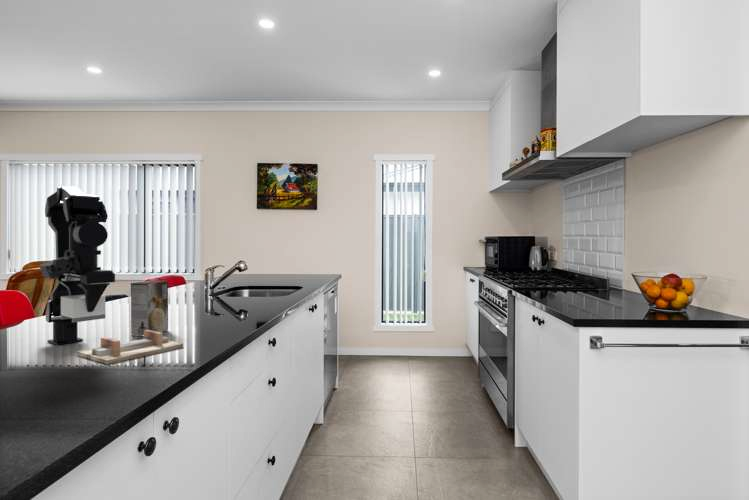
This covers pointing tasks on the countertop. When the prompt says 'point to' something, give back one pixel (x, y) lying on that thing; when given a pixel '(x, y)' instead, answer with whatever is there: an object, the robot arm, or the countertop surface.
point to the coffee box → (149, 306)
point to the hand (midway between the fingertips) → (83, 310)
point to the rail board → (129, 348)
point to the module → (81, 308)
